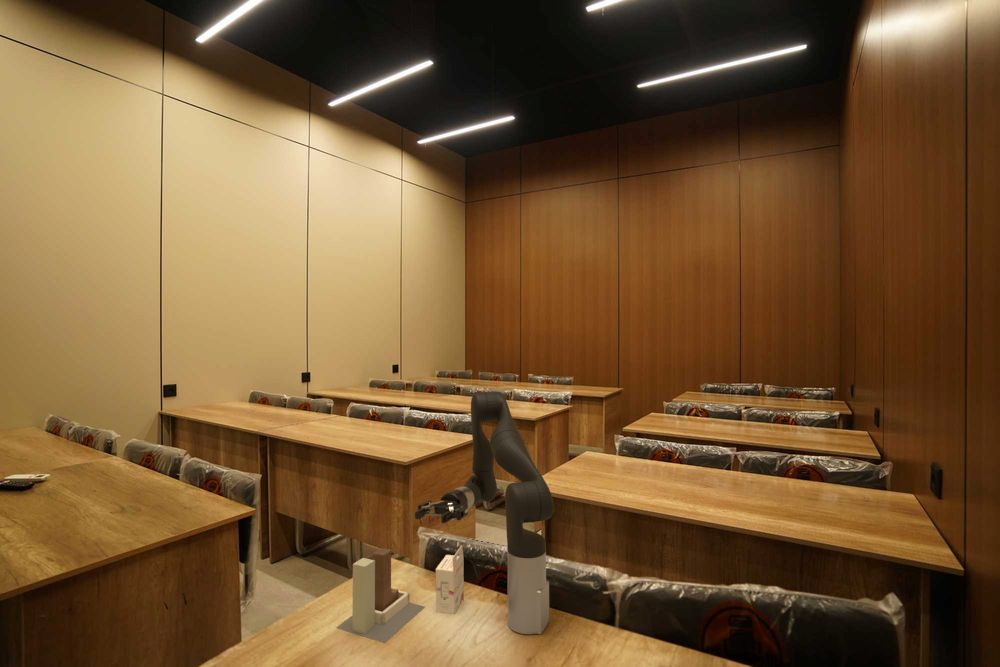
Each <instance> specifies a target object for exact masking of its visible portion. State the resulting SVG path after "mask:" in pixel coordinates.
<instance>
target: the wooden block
mask: <svg viewBox="0 0 1000 667" xmlns="http://www.w3.org/2000/svg"><path fill="white" fill-rule="evenodd" d="M372 560H375V610H377V611H381V612H383V611H384V610H385V609H386V608H388V607H389V606H390V605H392V604H393V603H394V602H395V601H397V600H398V590H399V589H396V588H392V550H391V548H390V549H388V548H382V547H380V548H378V549H377V550H375V551H373V553H372Z"/></svg>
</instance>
